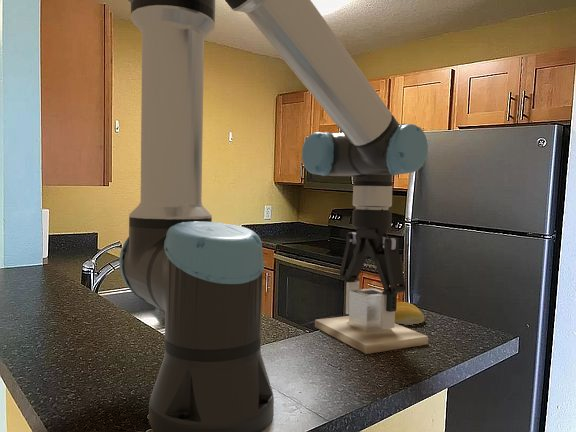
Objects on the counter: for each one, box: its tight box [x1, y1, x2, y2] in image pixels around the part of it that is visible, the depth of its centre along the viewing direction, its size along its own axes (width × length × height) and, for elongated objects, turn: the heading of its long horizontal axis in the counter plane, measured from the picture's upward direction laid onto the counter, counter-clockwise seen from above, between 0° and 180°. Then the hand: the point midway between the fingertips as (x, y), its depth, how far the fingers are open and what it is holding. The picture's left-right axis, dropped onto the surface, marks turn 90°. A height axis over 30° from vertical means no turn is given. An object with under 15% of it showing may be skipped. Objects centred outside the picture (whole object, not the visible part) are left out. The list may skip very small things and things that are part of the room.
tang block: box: [314, 315, 429, 355], centre depth 93 cm, size 18×14×6 cm
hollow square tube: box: [348, 287, 392, 333], centre depth 93 cm, size 6×6×7 cm
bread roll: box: [395, 301, 425, 326], centre depth 105 cm, size 8×9×4 cm
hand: (368, 320), depth 93 cm, fingers open, 11 cm apart
